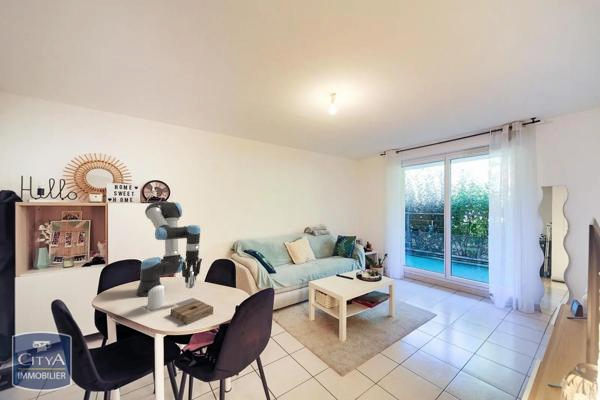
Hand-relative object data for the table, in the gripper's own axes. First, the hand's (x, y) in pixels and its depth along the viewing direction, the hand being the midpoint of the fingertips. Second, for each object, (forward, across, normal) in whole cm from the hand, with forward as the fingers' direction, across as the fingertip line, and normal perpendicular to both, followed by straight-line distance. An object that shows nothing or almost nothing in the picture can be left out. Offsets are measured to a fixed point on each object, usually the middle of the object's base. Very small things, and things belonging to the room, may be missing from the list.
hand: (190, 286), depth 149 cm
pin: (+1, 0, 0) cm, 1 cm away
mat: (+10, 0, -1) cm, 10 cm away
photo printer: (+11, -15, +10) cm, 21 cm away
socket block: (+10, -8, -16) cm, 20 cm away
